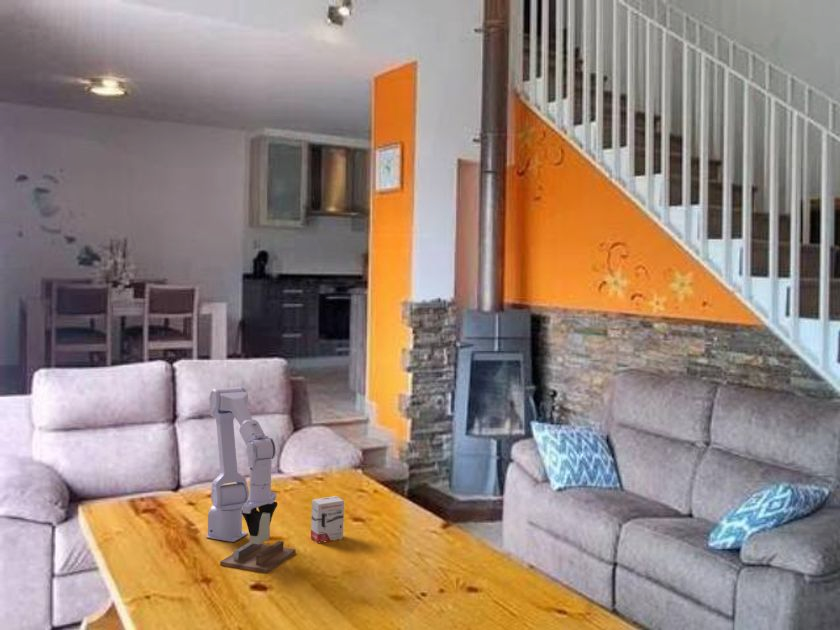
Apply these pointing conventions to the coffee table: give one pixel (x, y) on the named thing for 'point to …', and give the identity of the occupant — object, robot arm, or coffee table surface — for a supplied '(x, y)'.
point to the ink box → (327, 519)
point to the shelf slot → (261, 558)
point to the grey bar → (245, 550)
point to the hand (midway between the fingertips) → (259, 532)
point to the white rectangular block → (262, 530)
